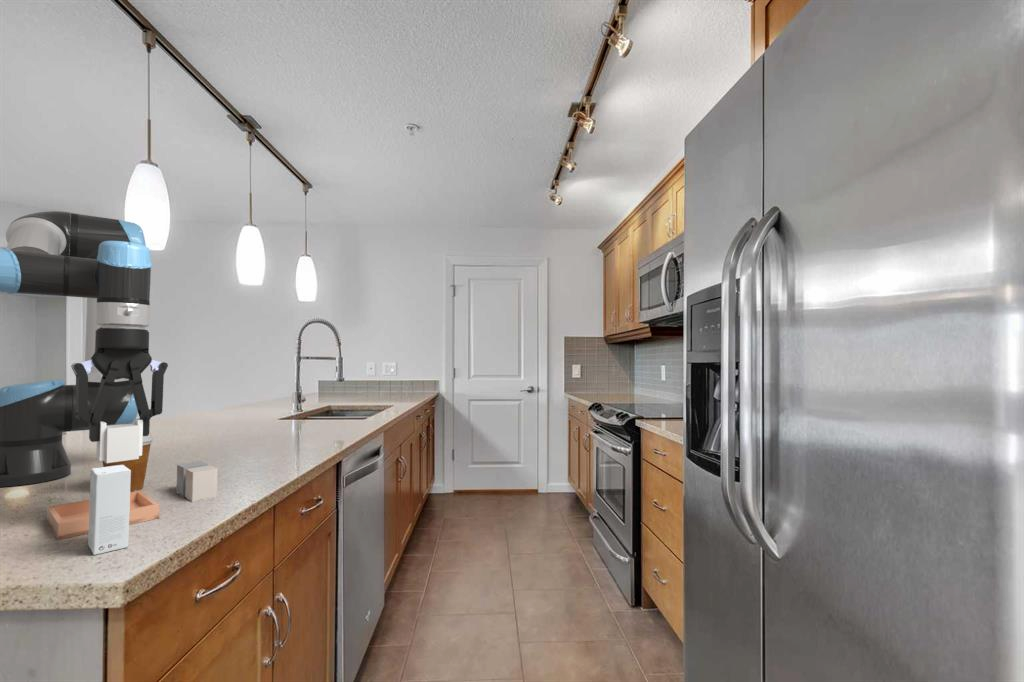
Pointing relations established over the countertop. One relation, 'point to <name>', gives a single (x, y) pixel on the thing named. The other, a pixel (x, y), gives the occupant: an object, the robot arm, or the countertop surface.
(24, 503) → the countertop surface
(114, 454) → the white block
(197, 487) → the beige rectangular block
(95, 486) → the skincare box
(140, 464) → the disposable coffee cup
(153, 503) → the dish
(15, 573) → the countertop surface
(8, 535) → the countertop surface
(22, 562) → the countertop surface
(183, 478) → the grey rectangular block
